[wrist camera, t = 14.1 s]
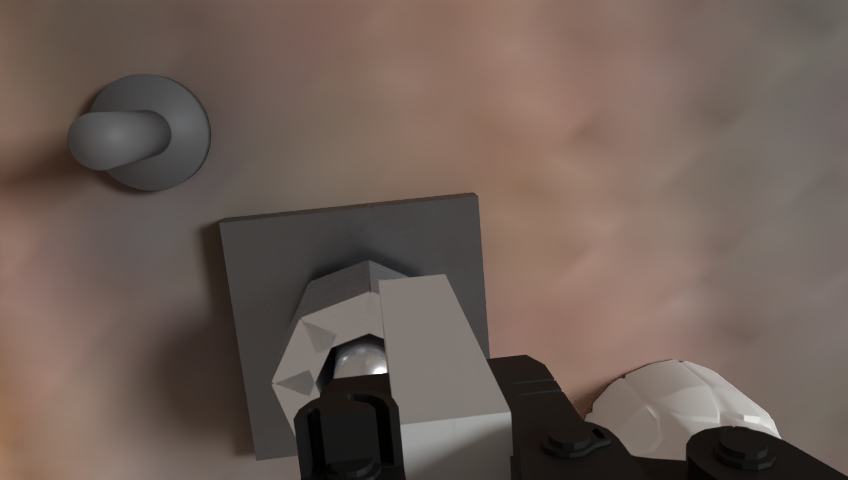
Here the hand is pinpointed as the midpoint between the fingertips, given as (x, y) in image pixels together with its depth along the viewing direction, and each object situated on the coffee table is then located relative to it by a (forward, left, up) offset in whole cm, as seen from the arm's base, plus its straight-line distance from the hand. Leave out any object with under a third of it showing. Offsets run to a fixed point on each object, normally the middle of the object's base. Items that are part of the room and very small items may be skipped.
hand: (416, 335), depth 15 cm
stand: (-4, -12, -23) cm, 27 cm away
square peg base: (+8, -2, -23) cm, 25 cm away
